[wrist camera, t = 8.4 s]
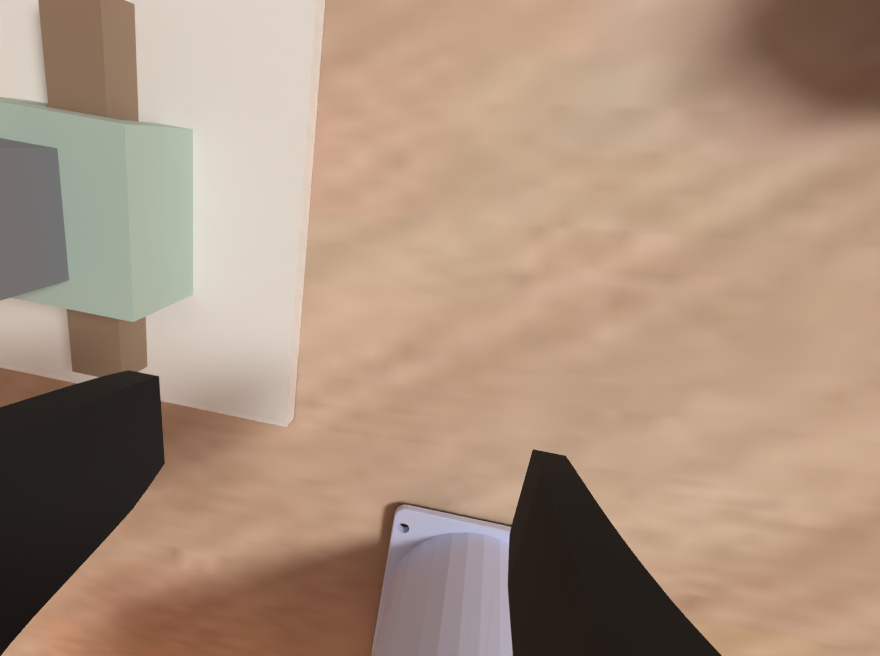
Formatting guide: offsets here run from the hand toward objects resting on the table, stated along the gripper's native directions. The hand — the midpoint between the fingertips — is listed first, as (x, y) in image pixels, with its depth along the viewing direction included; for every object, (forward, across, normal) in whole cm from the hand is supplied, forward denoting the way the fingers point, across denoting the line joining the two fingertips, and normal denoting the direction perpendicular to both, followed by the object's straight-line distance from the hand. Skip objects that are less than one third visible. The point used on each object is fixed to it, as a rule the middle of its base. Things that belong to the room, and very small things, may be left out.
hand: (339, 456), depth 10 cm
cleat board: (+11, +11, -1) cm, 16 cm away
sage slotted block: (+10, +12, -1) cm, 15 cm away
